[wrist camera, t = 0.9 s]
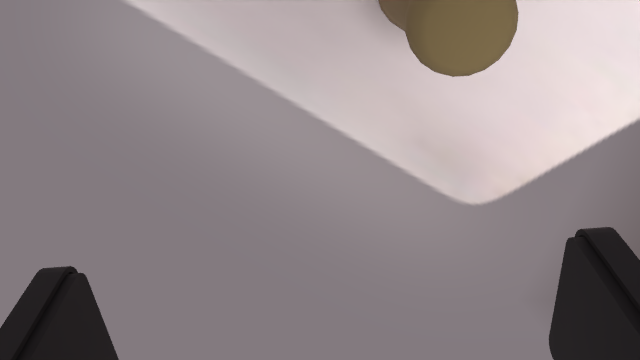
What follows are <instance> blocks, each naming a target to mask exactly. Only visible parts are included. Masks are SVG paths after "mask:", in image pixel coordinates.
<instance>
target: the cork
mask: <svg viewBox="0 0 640 360" xmlns="http://www.w3.org/2000/svg"><path fill="white" fill-rule="evenodd" d="M378 1H379V4H380V7H381V10H382V11H383V12H384V14H385V15H386V16H387V18H388V19H389V20H390V21H391V22H392V23H393V24H395V25H396V26H398V27H399V28H401V29H402V30H404V31H405V33H406V36H407V39H408V42H409V45H410V48H411V50H412V51H413V53H414V54H415V55H416V57H417V58H418V59H419V61H420V62H421V63H422V64H424V65H425V66H427V67H428V68H430V69H431V70H433V71H434V72H437V73H441V74H445V75H449V76H453V77H454V76H469V75H472V74H474V73H477V72H480V71H483V70H485V69H486V68H488V67H489V66H491V65H492V64H493V63H495V62H496V61H498V60H499V59H500V57H501V56H502V55H503V54H504V52H505V51H506V50H507V49H508V48H509V46H510V44H511V42H512V39H513V37H514V35H515V33H516V30H517V22H518V9H517V4H516V0H378Z"/></svg>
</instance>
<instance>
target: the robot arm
mask: <svg viewBox="0 0 640 360" xmlns="http://www.w3.org/2000/svg"><path fill="white" fill-rule="evenodd" d="M549 346H550V351H551V354H552V357H553V359H554V360H640V260H639V259H638V258H637V256H636V255H635V254H634V253H633V251H632V250H631V249H630V248H629V246H628V245H627V244H626V243H625V241H624V240H623V239H622V238H621V236H619V234H618V233H617V232H616V231H615V230H614V229H613V228H611V227H603V228H590V229H580V230H578V231H577V232H576V234H575V237H572V238H568V240H567V242H566V247H565V252H564V257H563V263H562V268H561V274H560V279H559V285H558V291H557V296H556V302H555V307H554V313H553V318H552V323H551V330H550V334H549ZM0 360H118V357H117V354H116V352H115V349H114V346H113V344H112V341H111V339H110V336H109V334H108V331H107V328H106V326H105V323H104V321H103V318H102V316H101V313H100V311H99V308H98V305H97V303H96V300H95V298H94V295H93V292H92V290H91V287H90V285H89V282H88V280H87V277H86V276H85V275H84V274H83V273H78V272H77V270H76V269H75V268H74V267H71V266H69V267H54V268H43V269H41V270H39V271H38V272H37V273H36V275H35V276H34V278H33V280H32V281H31V283H30V284H29V286H28V287H27V289H26V290H25V292H24V293H23V295H22V296H21V298H20V299H19V301H18V302H17V304H16V305H15V307H14V308H13V310H12V311H11V313H10V314H9V316H8V317H7V319H6V320H5V322H4V324H3V325H2V326H1V328H0Z"/></svg>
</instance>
